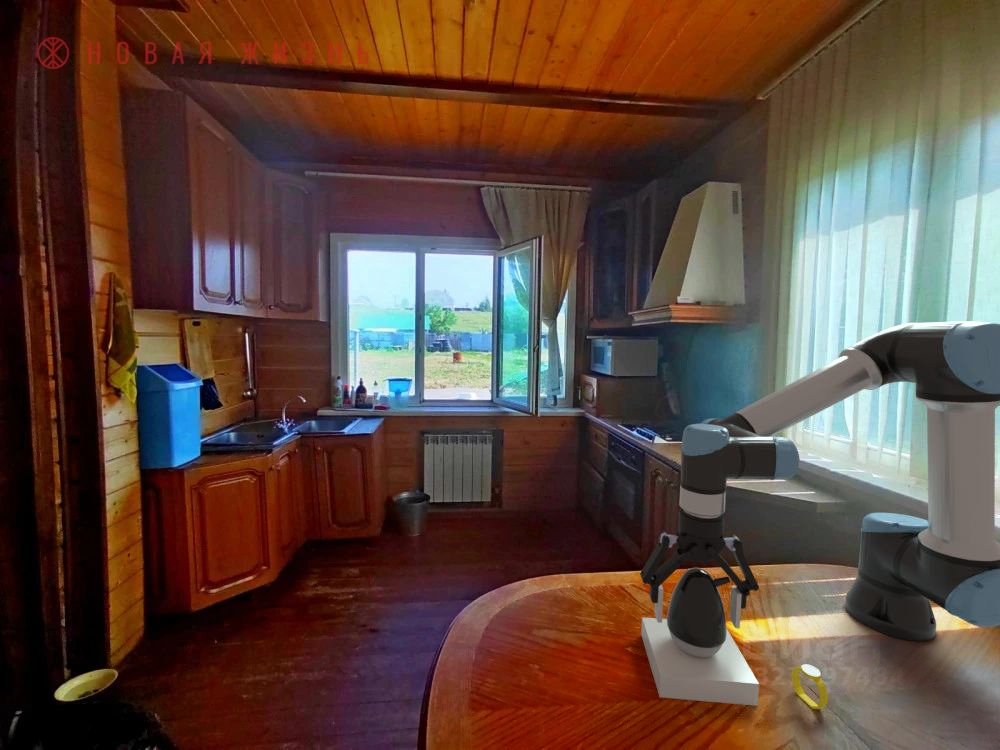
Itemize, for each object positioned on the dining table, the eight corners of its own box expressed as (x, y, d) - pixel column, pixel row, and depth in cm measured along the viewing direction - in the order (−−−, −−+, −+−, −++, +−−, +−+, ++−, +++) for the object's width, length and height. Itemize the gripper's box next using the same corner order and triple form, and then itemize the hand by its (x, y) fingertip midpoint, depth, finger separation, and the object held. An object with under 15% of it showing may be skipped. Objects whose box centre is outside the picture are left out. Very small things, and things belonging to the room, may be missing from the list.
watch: (829, 715, 76) (835, 684, 75) (815, 718, 75) (820, 686, 74) (799, 685, 81) (803, 656, 80) (786, 687, 81) (790, 658, 80)
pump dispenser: (733, 671, 79) (739, 589, 78) (670, 661, 82) (674, 581, 80) (718, 633, 89) (723, 559, 88) (662, 625, 91) (666, 553, 90)
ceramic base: (722, 641, 93) (723, 623, 92) (757, 705, 77) (759, 683, 77) (641, 635, 95) (642, 617, 94) (659, 697, 79) (660, 675, 78)
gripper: (764, 505, 85) (757, 613, 87) (627, 499, 88) (624, 604, 90) (785, 522, 78) (777, 639, 80) (634, 515, 80) (630, 628, 83)
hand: (695, 620), depth 85 cm, fingers open, 13 cm apart
